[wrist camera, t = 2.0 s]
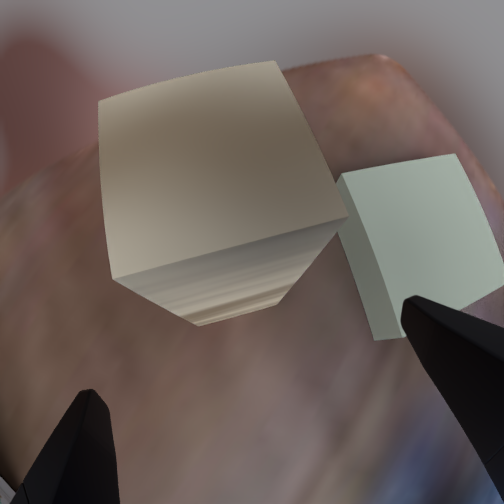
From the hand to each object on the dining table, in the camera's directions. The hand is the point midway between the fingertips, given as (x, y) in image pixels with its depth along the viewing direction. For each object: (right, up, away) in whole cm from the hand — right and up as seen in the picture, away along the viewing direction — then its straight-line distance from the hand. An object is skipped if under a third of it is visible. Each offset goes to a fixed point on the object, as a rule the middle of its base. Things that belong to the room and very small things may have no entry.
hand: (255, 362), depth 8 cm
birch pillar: (-2, +1, +12) cm, 12 cm away
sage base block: (+11, +3, +13) cm, 18 cm away
